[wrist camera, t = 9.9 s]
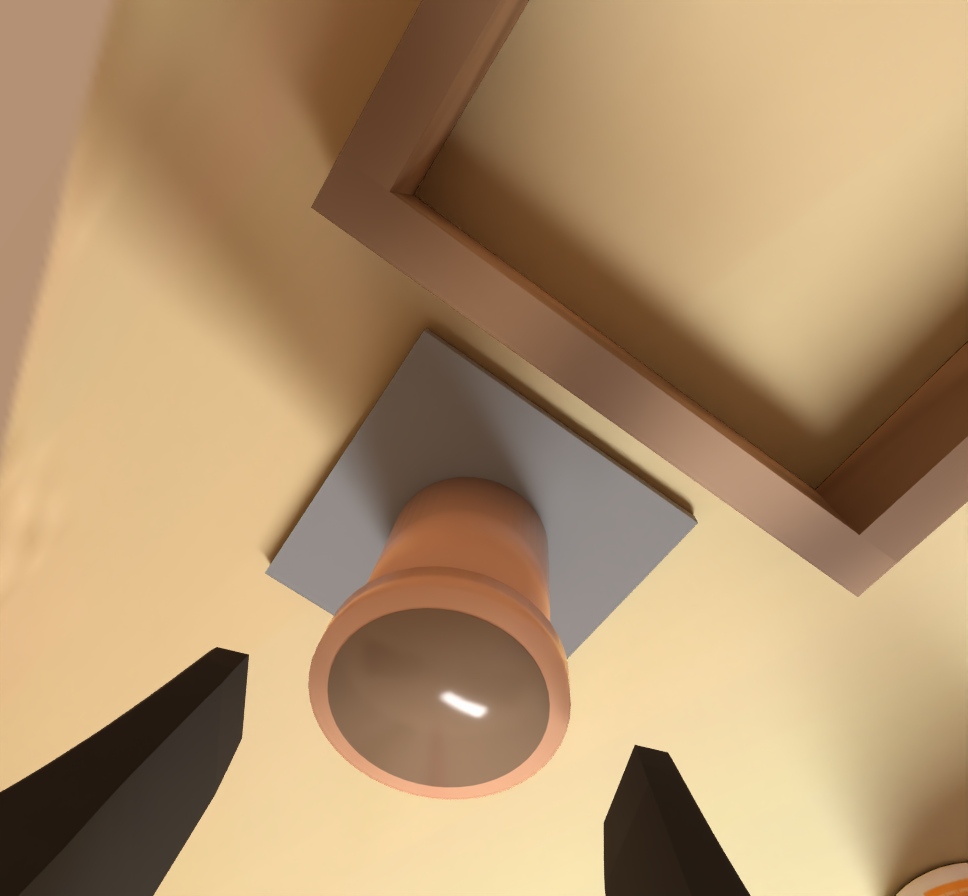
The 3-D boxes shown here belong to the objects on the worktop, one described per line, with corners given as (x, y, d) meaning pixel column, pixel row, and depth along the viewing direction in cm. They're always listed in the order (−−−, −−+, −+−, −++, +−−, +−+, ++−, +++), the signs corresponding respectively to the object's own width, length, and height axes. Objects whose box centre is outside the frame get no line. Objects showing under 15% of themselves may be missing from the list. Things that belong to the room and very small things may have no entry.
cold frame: (1405, -7, 12) (1612, -60, 10) (814, 545, 17) (858, 597, 15) (815, -631, 10) (898, -888, 8) (346, 208, 15) (310, 207, 13)
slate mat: (694, 516, 17) (697, 523, 17) (507, 712, 20) (506, 721, 20) (426, 327, 16) (424, 330, 16) (270, 565, 19) (264, 573, 19)
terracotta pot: (581, 488, 17) (602, 627, 11) (536, 640, 19) (535, 824, 13) (395, 446, 17) (322, 563, 11) (369, 602, 19) (296, 770, 13)
